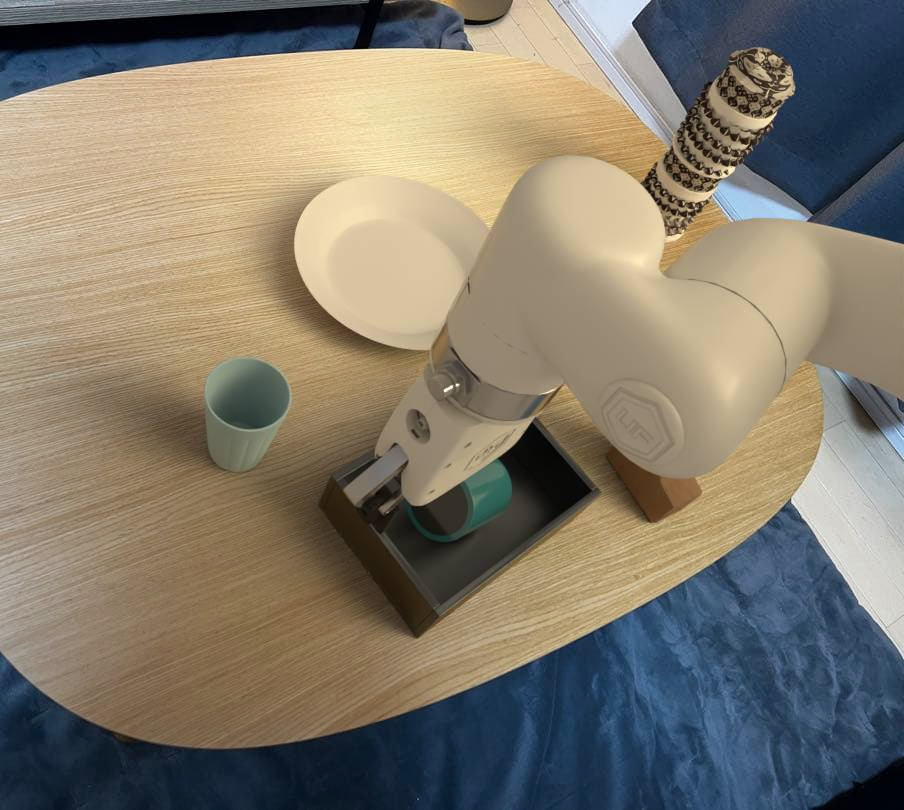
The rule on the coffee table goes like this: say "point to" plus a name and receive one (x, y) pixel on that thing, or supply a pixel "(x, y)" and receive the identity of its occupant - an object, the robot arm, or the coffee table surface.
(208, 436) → the cup
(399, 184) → the white plate
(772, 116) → the decorative candle
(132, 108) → the coffee table surface
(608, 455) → the wooden block
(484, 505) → the pot
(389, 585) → the dark grey shallow box
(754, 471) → the coffee table surface
